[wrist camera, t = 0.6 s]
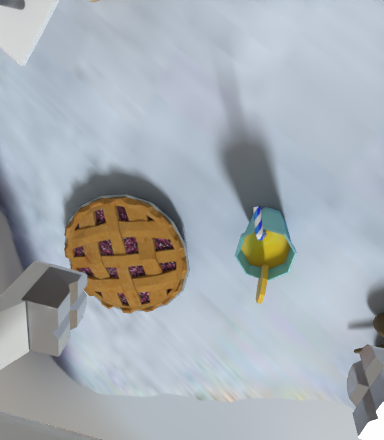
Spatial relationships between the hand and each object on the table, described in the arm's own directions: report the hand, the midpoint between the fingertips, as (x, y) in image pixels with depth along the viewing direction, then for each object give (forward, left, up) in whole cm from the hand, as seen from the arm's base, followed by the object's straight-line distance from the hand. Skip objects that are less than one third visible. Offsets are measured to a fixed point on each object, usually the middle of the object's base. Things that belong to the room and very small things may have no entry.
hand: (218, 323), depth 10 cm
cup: (+13, +4, -44) cm, 46 cm away
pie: (+26, -16, -44) cm, 54 cm away
